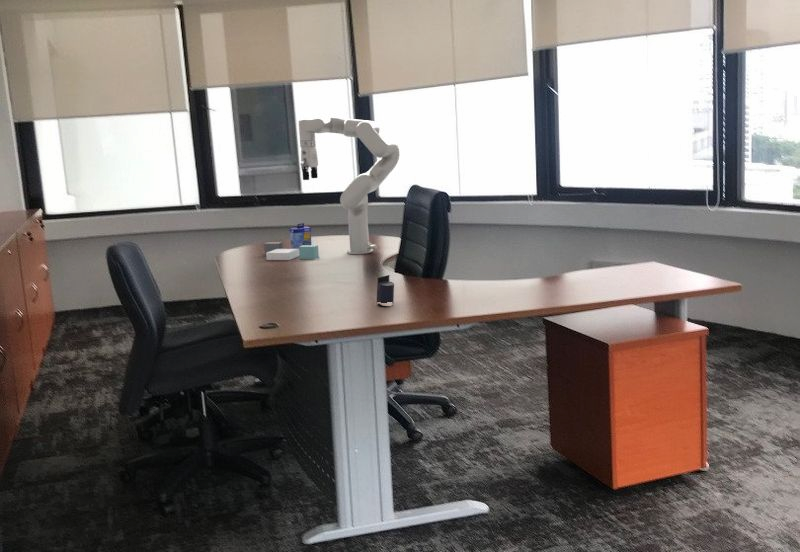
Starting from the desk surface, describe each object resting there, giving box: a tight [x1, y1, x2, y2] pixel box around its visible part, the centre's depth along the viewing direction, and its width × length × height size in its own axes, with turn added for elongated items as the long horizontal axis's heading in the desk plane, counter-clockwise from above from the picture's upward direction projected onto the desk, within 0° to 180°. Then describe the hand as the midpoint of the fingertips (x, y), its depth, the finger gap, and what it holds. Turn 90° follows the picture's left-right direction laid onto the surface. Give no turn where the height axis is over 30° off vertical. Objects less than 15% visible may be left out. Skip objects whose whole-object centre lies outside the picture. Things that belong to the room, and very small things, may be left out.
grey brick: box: [263, 241, 284, 256], centre depth 456 cm, size 8×4×6 cm, turn 71°
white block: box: [265, 248, 300, 261], centre depth 444 cm, size 12×12×4 cm
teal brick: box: [299, 244, 320, 260], centre depth 439 cm, size 8×4×6 cm, turn 71°
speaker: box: [376, 274, 395, 303], centre depth 324 cm, size 8×6×10 cm
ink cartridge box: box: [289, 222, 313, 249], centre depth 460 cm, size 10×6×14 cm, turn 121°
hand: (310, 179), depth 449 cm, fingers open, 9 cm apart
